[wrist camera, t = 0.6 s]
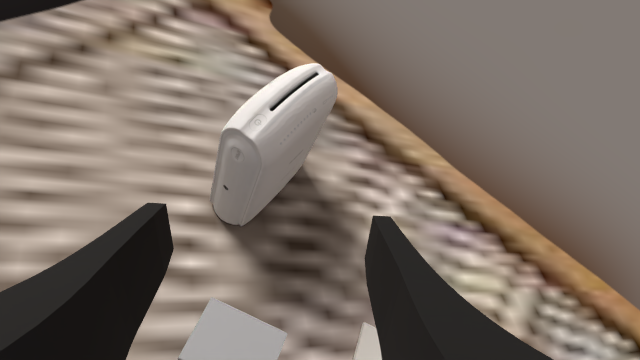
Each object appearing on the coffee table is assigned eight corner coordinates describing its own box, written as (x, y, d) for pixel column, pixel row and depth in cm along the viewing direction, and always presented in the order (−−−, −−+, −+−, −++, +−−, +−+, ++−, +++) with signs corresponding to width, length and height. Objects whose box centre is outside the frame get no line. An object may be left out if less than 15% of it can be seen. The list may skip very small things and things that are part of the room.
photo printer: (239, 237, 30) (272, 151, 20) (200, 205, 31) (214, 105, 21) (307, 165, 37) (357, 73, 27) (274, 139, 37) (311, 38, 27)
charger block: (245, 400, 25) (262, 396, 20) (176, 369, 24) (178, 357, 19) (266, 348, 27) (287, 333, 22) (204, 318, 26) (211, 297, 22)
